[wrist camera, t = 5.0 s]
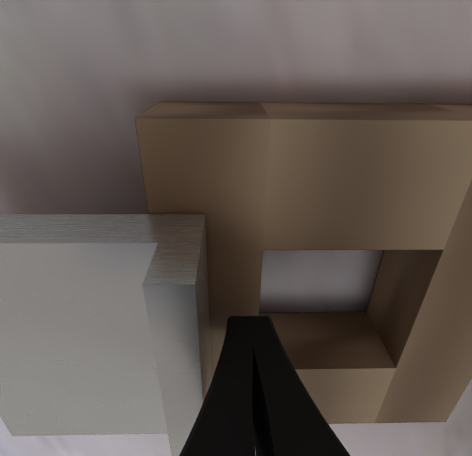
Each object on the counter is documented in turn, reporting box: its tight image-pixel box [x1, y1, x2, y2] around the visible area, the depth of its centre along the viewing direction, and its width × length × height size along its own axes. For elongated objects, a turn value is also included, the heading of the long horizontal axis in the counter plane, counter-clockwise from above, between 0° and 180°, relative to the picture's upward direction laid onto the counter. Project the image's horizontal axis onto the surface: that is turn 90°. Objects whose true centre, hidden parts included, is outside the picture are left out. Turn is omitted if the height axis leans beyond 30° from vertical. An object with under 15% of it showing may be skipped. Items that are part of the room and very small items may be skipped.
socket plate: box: [135, 102, 472, 424], centre depth 12 cm, size 12×13×3 cm
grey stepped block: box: [0, 214, 212, 456], centre depth 9 cm, size 7×8×3 cm
